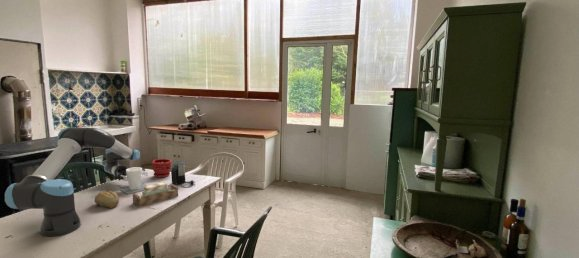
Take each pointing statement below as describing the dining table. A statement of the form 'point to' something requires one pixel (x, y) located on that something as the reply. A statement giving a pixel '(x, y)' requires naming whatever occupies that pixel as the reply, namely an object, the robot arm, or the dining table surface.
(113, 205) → the bread roll
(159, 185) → the short birch offcut
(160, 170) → the plant pot
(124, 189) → the slate mat
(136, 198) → the offcut rack
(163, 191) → the sage painted offcut
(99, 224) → the dining table surface
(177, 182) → the milk frother
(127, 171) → the foam cup
